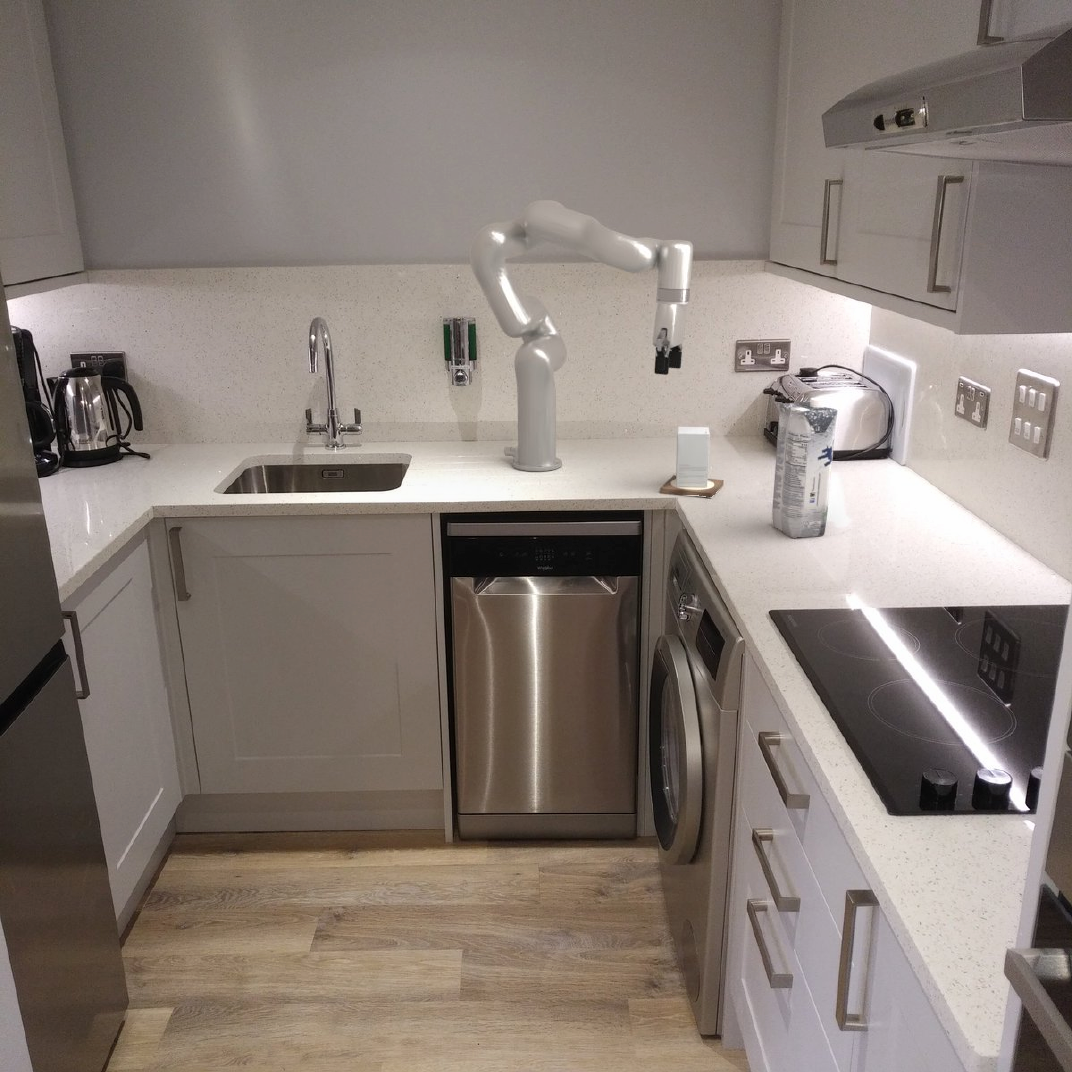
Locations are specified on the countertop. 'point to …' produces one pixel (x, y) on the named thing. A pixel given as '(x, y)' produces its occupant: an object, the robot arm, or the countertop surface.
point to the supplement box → (692, 456)
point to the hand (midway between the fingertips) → (667, 371)
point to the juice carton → (803, 467)
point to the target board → (691, 488)
